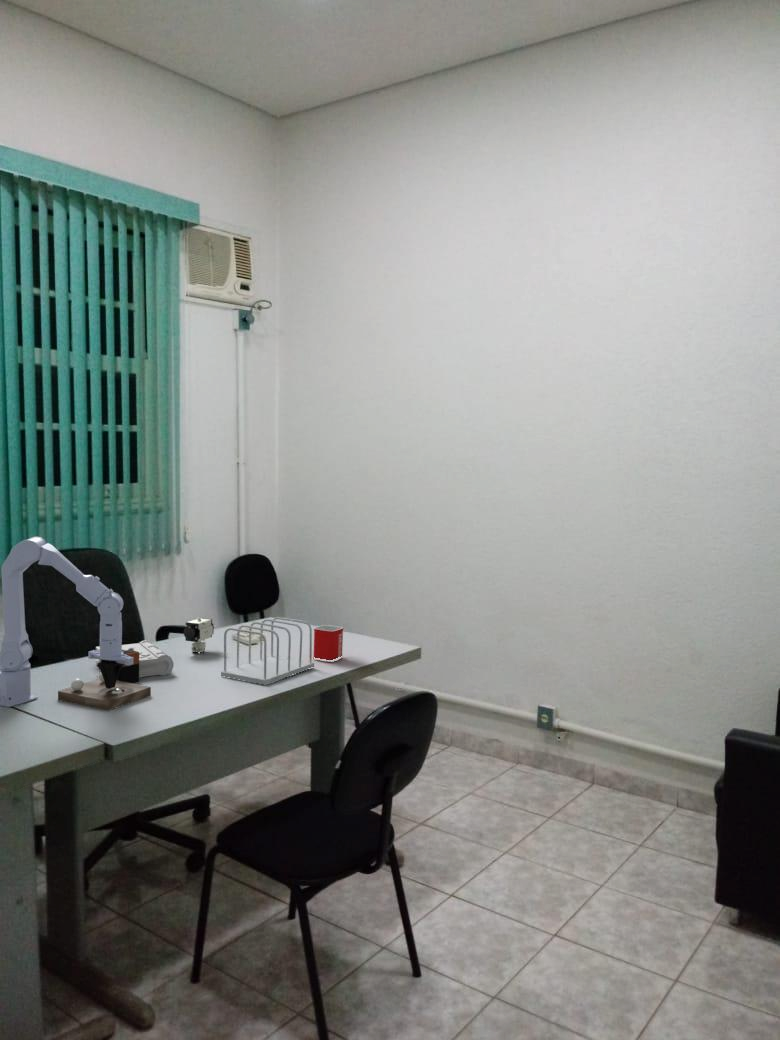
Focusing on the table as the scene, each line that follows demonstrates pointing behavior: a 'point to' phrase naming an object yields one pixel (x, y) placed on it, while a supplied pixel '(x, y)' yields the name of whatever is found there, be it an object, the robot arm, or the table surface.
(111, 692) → the steel ball
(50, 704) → the table surface
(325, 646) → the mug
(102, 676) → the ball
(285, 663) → the file sorter
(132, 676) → the battery
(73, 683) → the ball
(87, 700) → the hole plate
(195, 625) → the pneumatic valve
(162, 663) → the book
